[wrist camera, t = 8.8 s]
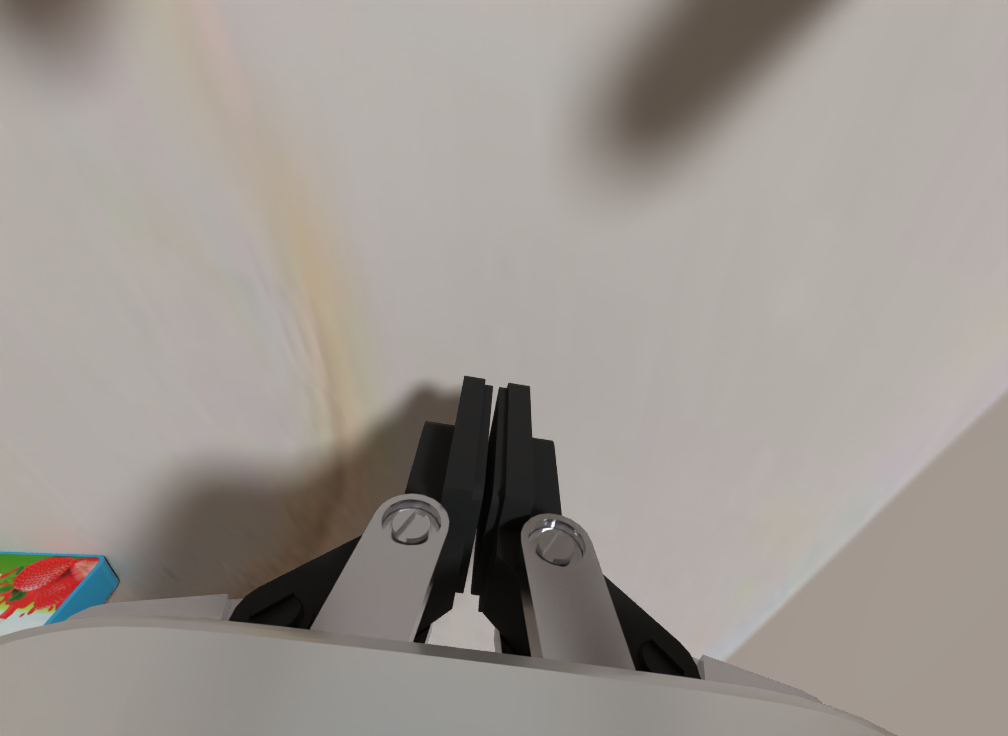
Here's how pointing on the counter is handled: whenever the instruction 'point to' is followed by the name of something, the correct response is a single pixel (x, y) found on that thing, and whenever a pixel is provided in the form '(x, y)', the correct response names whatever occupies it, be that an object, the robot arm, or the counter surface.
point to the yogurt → (50, 587)
